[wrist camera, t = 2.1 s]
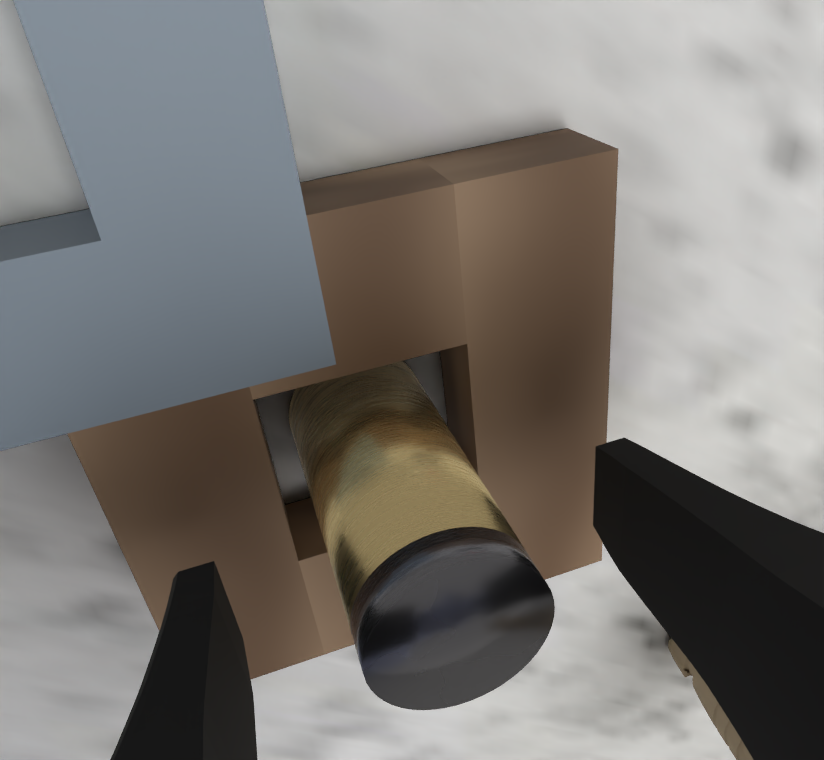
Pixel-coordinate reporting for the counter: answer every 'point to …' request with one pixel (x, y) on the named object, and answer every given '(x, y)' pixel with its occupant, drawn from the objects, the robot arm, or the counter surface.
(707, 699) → the handle
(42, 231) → the socket block
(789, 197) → the counter surface
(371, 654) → the pin
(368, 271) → the mount block
